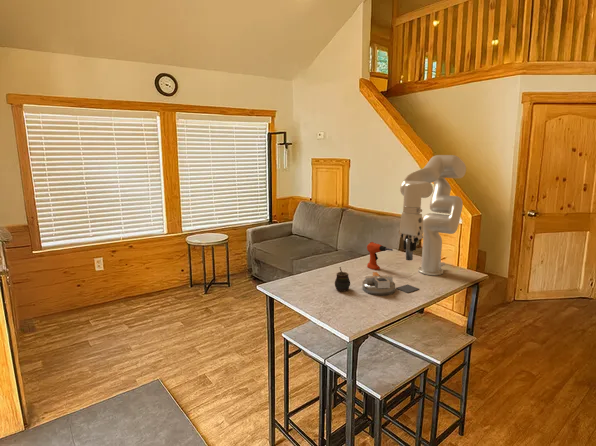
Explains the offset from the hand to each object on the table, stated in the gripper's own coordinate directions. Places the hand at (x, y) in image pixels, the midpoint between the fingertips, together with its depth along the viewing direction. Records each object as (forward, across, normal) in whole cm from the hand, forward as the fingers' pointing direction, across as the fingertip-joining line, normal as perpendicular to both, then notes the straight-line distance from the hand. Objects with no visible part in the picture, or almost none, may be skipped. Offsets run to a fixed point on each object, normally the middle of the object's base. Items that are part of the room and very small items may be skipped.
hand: (409, 249), depth 172 cm
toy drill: (+20, +28, -10) cm, 35 cm away
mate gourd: (+20, +18, +25) cm, 37 cm away
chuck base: (+20, +8, +11) cm, 24 cm away
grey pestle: (+5, 0, 0) cm, 5 cm away
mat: (+19, 0, 0) cm, 19 cm away
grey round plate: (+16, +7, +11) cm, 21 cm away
